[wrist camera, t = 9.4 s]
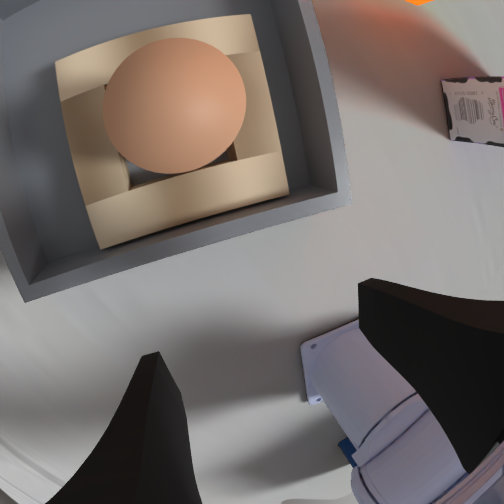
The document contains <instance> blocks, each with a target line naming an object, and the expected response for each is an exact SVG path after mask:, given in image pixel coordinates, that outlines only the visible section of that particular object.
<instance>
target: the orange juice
mask: <svg viewBox="0 0 504 504" xmlns="http://www.w3.org/2000/svg"><path fill="white" fill-rule="evenodd" d="M405 1H408V2H410V3H413V4H415V5H421V4H423V3H426V2H430V1H433V0H405Z"/></svg>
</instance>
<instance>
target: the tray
mask: <svg viewBox="0 0 504 504" xmlns="http://www.w3.org/2000/svg"><path fill="white" fill-rule="evenodd" d="M244 14H251V17H252V21H253V25H254V29H255V33H256V37H257V41H258V45H259V49H260V53H261V58H262V62H263V66H264V70H265V75H266V79H267V84H268V88H269V93H270V97H271V102H272V106H273V111H274V116H275V121H276V126H277V130H278V135H279V140H280V145H281V151H282V156H283V161H284V166H285V172H286V177H287V183H288V188H289V195H285V196H281V197H277V198H273V199H269V200H265V201H262V202H258V203H254V204H250V205H247V206H243V207H239V208H236V209H232V210H228V211H225V212H221V213H218V214H214V215H211V216H207V217H204V218H200V219H197V220H193V221H190V222H187V223H183V224H180V225H177V226H173V227H170V228H167V229H163V230H160V231H157V232H154V233H150V234H147V235H144V236H141V237H138V238H135V239H131V240H128V241H125V242H122V243H119V244H116V245H113V246H110V247H107V248H104V249H101V250H100V247H99V245H98V242H97V239H96V236H95V233H94V230H93V228H92V225H91V222H90V219H89V215H88V212H87V209H86V206H85V203H84V199H83V196H82V193H81V189H80V186H79V182H78V179H77V175H76V171H75V167H74V164H73V160H72V156H71V151H70V147H69V143H68V138H67V134H66V129H65V124H64V119H63V113H62V108H61V102H60V96H59V90H58V83H57V75H56V67H55V62H56V61H58V60H60V59H63V58H65V57H67V56H70V55H72V54H75V53H77V52H80V51H82V50H85V49H88V48H90V47H93V46H96V45H99V44H102V43H105V42H108V41H111V40H114V39H117V38H120V37H124V36H127V35H130V34H134V33H138V32H141V31H145V30H149V29H154V28H158V27H162V26H167V25H172V24H177V23H182V22H188V21H194V20H200V19H207V18H214V17H223V16H232V15H244ZM228 159H229V156H228V151H227V149H226V151H224V152H223V153H222V154H221V155H220V156H219V157H217V158H216V159H215V160H213V161H212V162H210V163H208V164H212V163H216V162H220V161H224V160H228ZM126 162H127V166H128V170H129V173H130V177H131V181H132V184H133V186H135V185H138V184H142V183H145V182H148V181H151V180H154V179H158V178H161V177H164V176H168V175H171V174H164V173H156V172H152V171H148V170H145V169H143V168H140V167H138V166H136V165H135V164H133V163H131V162H130V161H128V160H127V159H126ZM208 164H206V165H208ZM349 204H352V196H351V187H350V179H349V172H348V164H347V157H346V150H345V144H344V138H343V132H342V126H341V120H340V115H339V109H338V104H337V99H336V94H335V89H334V85H333V80H332V76H331V71H330V67H329V63H328V59H327V54H326V50H325V47H324V43H323V39H322V35H321V31H320V28H319V24H318V21H317V17H316V14H315V11H314V7H313V4H312V1H311V0H0V247H1V250H2V252H3V255H4V258H5V260H6V262H7V265H8V267H9V270H10V272H11V274H12V277H13V279H14V281H15V283H16V286H17V288H18V290H19V292H20V294H21V296H22V298H23V300H24V302H25V303H26V302H29V301H32V300H35V299H38V298H41V297H44V296H47V295H50V294H53V293H56V292H59V291H62V290H65V289H68V288H71V287H74V286H77V285H80V284H84V283H87V282H90V281H93V280H96V279H99V278H102V277H105V276H109V275H112V274H115V273H118V272H121V271H124V270H128V269H131V268H134V267H137V266H140V265H144V264H147V263H150V262H153V261H157V260H160V259H163V258H166V257H170V256H173V255H176V254H179V253H183V252H186V251H189V250H193V249H196V248H199V247H203V246H206V245H209V244H213V243H216V242H219V241H223V240H226V239H230V238H233V237H236V236H240V235H243V234H247V233H250V232H254V231H257V230H260V229H264V228H267V227H271V226H274V225H278V224H281V223H285V222H288V221H292V220H295V219H299V218H303V217H306V216H310V215H313V214H317V213H320V212H324V211H328V210H331V209H335V208H338V207H342V206H346V205H349Z"/></svg>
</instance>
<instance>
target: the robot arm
mask: <svg viewBox="0 0 504 504" xmlns="http://www.w3.org/2000/svg"><path fill="white" fill-rule="evenodd" d="M358 300H359V319H358V320H356V321H353V322H351V323H349V324H347V325H344V326H342V327H340V328H337V329H335V330H333V331H330V332H328V333H326V334H323V335H321V336H318V337H316V338H313V339H311V340H308V341H306V342H304V343H303V344H302V345H301V347H300V350H301V357H302V363H303V370H304V378H305V385H306V392H307V400H308V403H309V404H310V405H315V404H317V403H319V402H322V401H324V402H325V404H326V405H327V407H328V408H329V410H330V411H331V413H332V414H333V416H334V417H335V419H336V420H337V422H338V423H339V425H340V426H341V428H342V429H343V431H344V432H345V434H346V435H347V437H348V438H349V439H350V441H351V442H352V444H353V445H354V447H355V448H356V450H357V451H356V452H355V453H354V454H352V457H353V459H354V460H355V462H356V463H357V466H356V467H354V468H353V470H352V472H351V488H352V491H353V493H354V496H355V497H356V499H357V501H358V503H359V504H504V301H486V300H474V299H465V298H458V297H452V296H447V295H442V294H437V293H432V292H428V291H424V290H420V289H416V288H412V287H408V286H404V285H400V284H397V283H393V282H389V281H384V280H380V279H374V278H370V279H368V280H365V281H363V282H360V283H358ZM313 344H314V345H313ZM312 345H313V346H312ZM45 504H202V501H201V498H200V495H199V491H198V488H197V484H196V480H195V476H194V471H193V464H192V457H191V450H190V442H189V434H188V426H187V418H186V414H185V409H184V405H183V401H182V397H181V392H180V391H179V389H178V387H177V385H176V383H175V381H174V380H173V378H172V376H171V374H170V372H169V370H168V368H167V366H166V364H165V362H164V360H163V358H162V356H161V354H160V352H159V351H158V352H155V353H151V354H147V355H144V356H142V357H141V359H140V361H139V363H138V366H137V368H136V370H135V372H134V374H133V377H132V379H131V381H130V383H129V386H128V388H127V390H126V392H125V394H124V396H123V398H122V401H121V403H120V405H119V407H118V409H117V411H116V412H115V414H114V416H113V418H112V420H111V422H110V424H109V426H108V427H107V429H106V431H105V432H104V434H103V436H102V437H101V439H100V440H99V442H98V443H97V445H96V446H95V448H94V449H93V451H92V452H91V454H90V455H89V456H88V458H87V459H86V460H85V461H84V463H83V464H82V465H81V467H80V468H79V469H78V470H77V472H76V473H75V474H74V475H73V477H72V478H71V479H70V480H69V481H68V482H67V483H66V484H65V485H64V486H63V487H62V488H61V489H60V490H59V491H58V492H57V493H56V494H55V495H54V496H53V497H52V498H51V499H50V500H49V501H48V502H47V503H45Z"/></svg>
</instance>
